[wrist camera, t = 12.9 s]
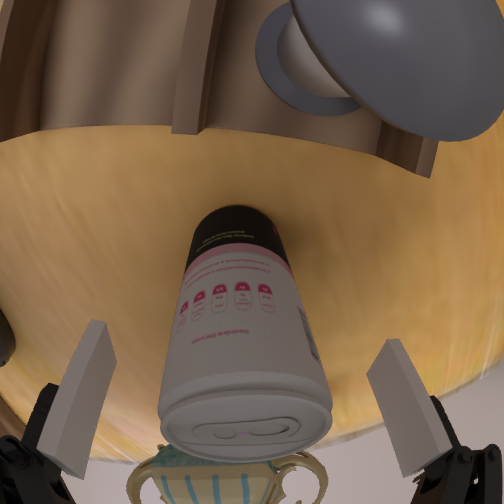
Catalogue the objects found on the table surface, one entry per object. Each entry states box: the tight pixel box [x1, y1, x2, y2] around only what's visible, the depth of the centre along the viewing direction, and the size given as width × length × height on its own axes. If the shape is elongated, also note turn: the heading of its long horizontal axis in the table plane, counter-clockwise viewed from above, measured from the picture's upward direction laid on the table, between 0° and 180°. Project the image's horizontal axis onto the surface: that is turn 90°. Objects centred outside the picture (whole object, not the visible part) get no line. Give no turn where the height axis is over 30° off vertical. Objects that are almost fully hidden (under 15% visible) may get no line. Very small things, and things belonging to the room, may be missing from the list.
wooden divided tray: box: [0, 0, 439, 178], centre depth 11 cm, size 27×14×6 cm, turn 82°
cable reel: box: [255, 0, 504, 142], centre depth 10 cm, size 8×8×12 cm
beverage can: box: [158, 206, 333, 463], centre depth 15 cm, size 6×7×15 cm
